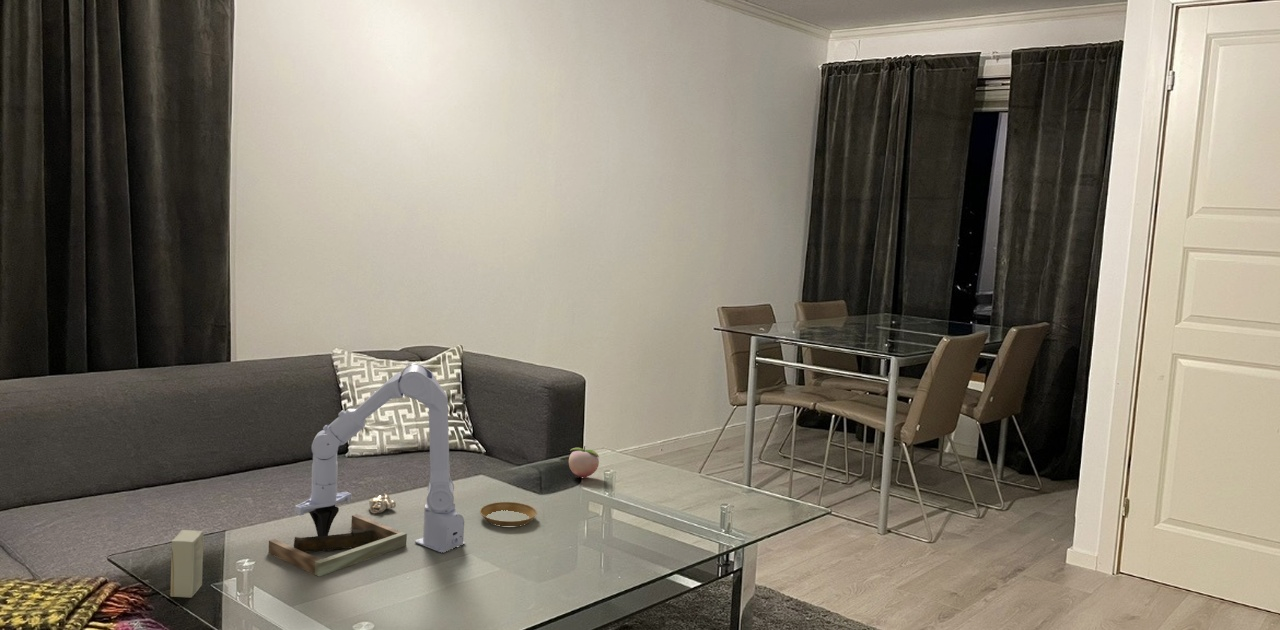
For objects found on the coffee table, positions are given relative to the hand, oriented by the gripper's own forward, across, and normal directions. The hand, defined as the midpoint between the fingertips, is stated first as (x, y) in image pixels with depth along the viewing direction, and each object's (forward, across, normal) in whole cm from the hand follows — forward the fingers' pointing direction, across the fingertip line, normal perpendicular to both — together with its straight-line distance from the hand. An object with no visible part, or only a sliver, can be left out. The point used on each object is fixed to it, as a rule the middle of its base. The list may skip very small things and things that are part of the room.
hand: (322, 536), depth 234 cm
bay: (+1, 0, +6) cm, 6 cm away
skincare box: (+2, +36, +2) cm, 36 cm away
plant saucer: (+2, -43, +20) cm, 47 cm away
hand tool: (+2, 0, +5) cm, 5 cm away
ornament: (+2, -25, -8) cm, 26 cm away
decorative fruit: (+2, -85, +12) cm, 86 cm away
